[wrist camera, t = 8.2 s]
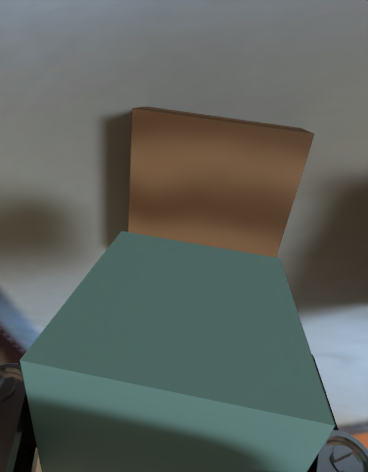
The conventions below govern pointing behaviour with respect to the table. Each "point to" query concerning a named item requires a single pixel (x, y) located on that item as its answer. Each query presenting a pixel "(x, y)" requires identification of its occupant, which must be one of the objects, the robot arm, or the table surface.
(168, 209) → the walnut plinth
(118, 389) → the teal block
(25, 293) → the table surface
